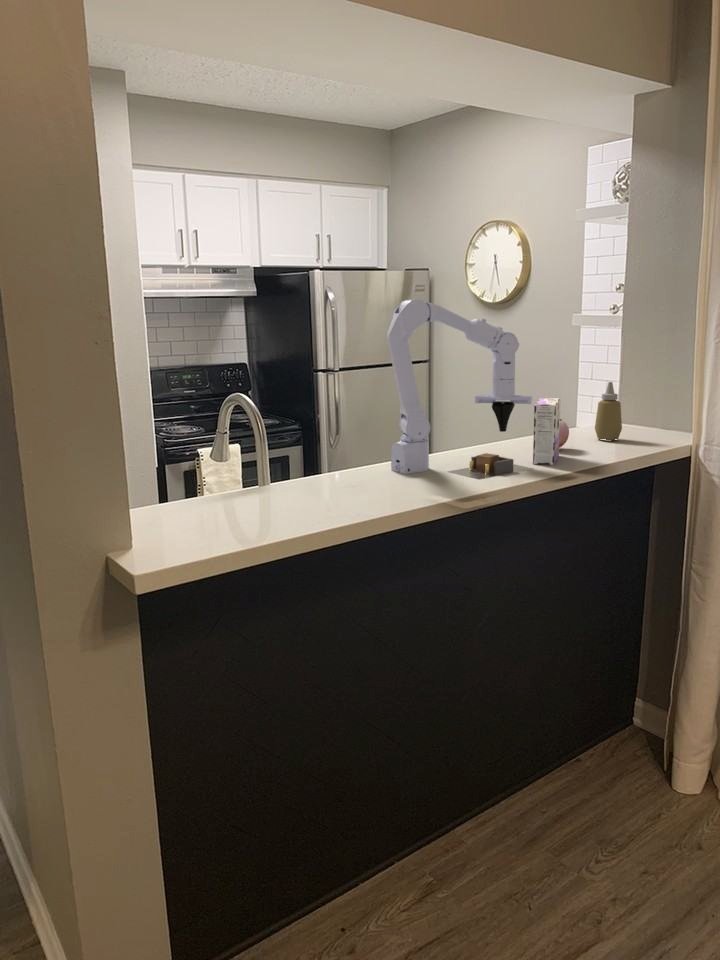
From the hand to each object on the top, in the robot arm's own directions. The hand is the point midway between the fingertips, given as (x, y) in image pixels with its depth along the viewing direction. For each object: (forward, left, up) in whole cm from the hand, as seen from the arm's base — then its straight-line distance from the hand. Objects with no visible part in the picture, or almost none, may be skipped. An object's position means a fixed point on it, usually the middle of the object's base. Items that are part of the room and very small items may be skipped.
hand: (503, 431), depth 204 cm
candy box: (+16, 0, -10) cm, 19 cm away
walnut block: (-9, -4, -9) cm, 13 cm away
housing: (-7, -4, -9) cm, 12 cm away
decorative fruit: (+30, +9, -10) cm, 32 cm away
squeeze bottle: (+54, +9, -10) cm, 55 cm away
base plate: (-8, -4, -10) cm, 13 cm away
